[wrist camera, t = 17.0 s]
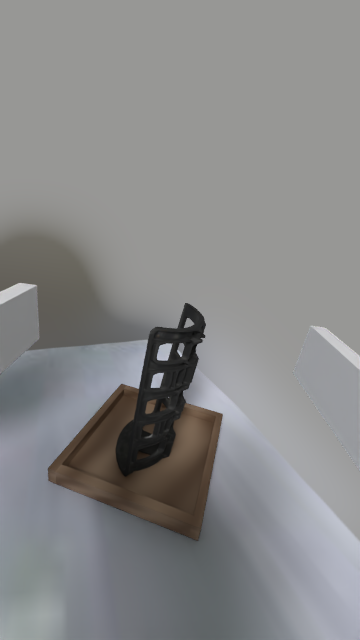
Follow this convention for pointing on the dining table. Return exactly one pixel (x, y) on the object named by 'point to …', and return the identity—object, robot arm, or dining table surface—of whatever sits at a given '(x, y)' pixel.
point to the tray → (153, 482)
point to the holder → (161, 394)
